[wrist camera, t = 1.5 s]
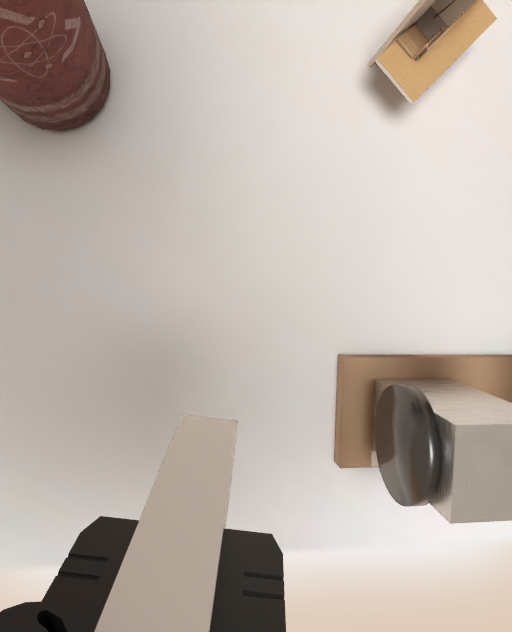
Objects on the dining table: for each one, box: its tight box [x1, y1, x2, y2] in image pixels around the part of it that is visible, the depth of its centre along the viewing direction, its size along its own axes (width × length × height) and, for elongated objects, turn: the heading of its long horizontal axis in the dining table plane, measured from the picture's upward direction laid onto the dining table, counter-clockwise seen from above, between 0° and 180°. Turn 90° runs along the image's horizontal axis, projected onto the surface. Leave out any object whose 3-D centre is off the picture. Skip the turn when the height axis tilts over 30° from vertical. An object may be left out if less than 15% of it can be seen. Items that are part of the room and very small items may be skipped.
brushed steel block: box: [373, 379, 512, 523], centre depth 25 cm, size 6×7×9 cm
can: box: [0, 0, 110, 130], centre depth 19 cm, size 6×6×14 cm
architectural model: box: [367, 0, 497, 104], centre depth 26 cm, size 3×7×7 cm, turn 135°
